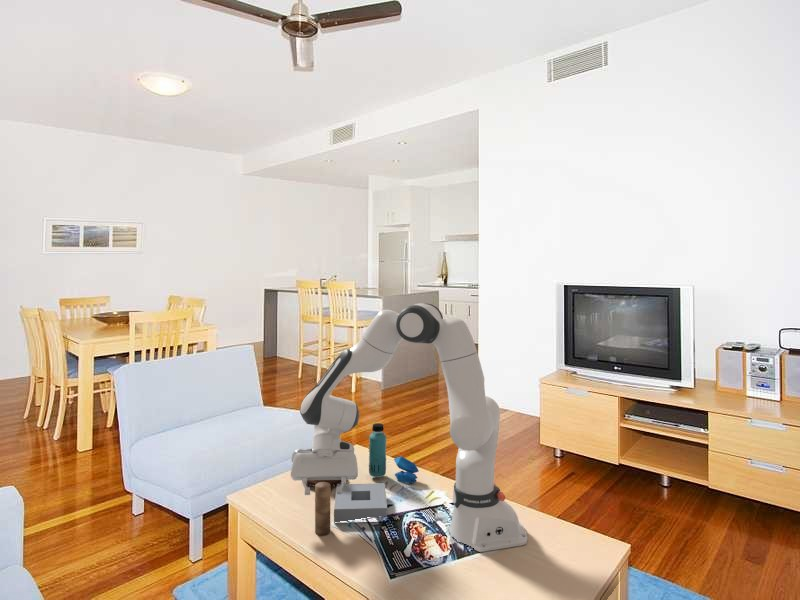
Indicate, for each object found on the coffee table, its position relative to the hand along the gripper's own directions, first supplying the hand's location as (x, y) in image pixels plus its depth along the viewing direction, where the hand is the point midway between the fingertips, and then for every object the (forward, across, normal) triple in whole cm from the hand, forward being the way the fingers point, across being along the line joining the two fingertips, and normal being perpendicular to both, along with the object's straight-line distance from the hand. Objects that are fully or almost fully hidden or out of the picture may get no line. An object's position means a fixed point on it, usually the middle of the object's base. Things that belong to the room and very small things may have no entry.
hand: (323, 494), depth 140 cm
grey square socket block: (0, +11, +14) cm, 18 cm away
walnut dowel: (+9, 0, +6) cm, 10 cm away
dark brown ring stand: (-14, -2, +28) cm, 31 cm away
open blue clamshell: (-13, +27, +28) cm, 41 cm away
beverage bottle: (-15, +17, +30) cm, 37 cm away
